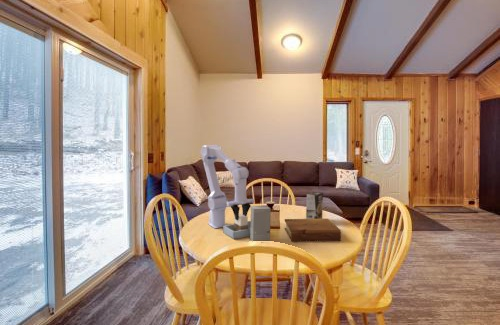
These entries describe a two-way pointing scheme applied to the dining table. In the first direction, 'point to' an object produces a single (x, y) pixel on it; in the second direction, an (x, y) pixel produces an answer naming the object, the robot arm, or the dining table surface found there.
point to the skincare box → (260, 223)
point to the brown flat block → (312, 230)
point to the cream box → (242, 220)
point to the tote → (237, 234)
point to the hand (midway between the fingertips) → (240, 218)
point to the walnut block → (239, 227)
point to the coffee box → (314, 205)
